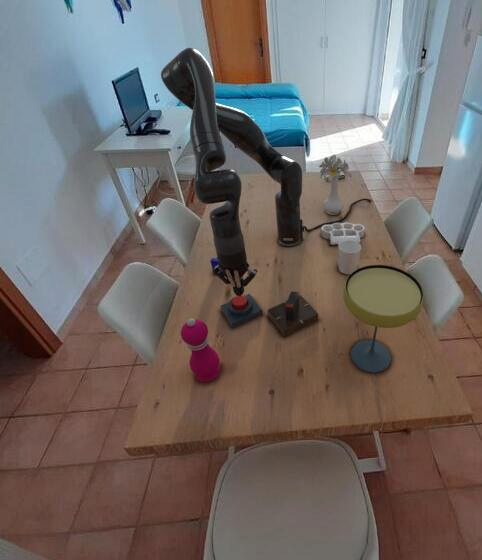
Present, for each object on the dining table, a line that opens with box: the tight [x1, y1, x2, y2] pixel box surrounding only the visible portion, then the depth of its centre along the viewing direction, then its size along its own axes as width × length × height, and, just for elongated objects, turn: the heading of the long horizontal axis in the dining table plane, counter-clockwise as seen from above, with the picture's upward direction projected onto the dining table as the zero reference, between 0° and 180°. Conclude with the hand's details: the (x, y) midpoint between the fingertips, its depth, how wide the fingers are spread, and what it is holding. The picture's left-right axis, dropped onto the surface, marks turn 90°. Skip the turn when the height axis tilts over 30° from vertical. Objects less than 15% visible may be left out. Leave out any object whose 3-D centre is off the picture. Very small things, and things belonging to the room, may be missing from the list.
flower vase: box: [318, 154, 351, 216], centre depth 145 cm, size 13×18×25 cm
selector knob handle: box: [285, 290, 300, 320], centre depth 98 cm, size 7×2×5 cm, turn 169°
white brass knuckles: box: [320, 222, 366, 246], centre depth 136 cm, size 3×18×15 cm
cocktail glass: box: [342, 264, 425, 374], centre depth 83 cm, size 18×18×25 cm
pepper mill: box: [180, 317, 221, 383], centre depth 80 cm, size 7×7×20 cm
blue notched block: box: [210, 257, 219, 275], centre depth 120 cm, size 12×4×6 cm, turn 169°
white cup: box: [337, 240, 362, 275], centre depth 117 cm, size 8×8×10 cm
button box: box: [219, 293, 264, 329], centre depth 102 cm, size 10×9×4 cm
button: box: [232, 295, 248, 309], centre depth 100 cm, size 4×4×2 cm
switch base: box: [266, 294, 319, 338], centre depth 100 cm, size 12×11×3 cm
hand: (239, 293), depth 98 cm, fingers closed
